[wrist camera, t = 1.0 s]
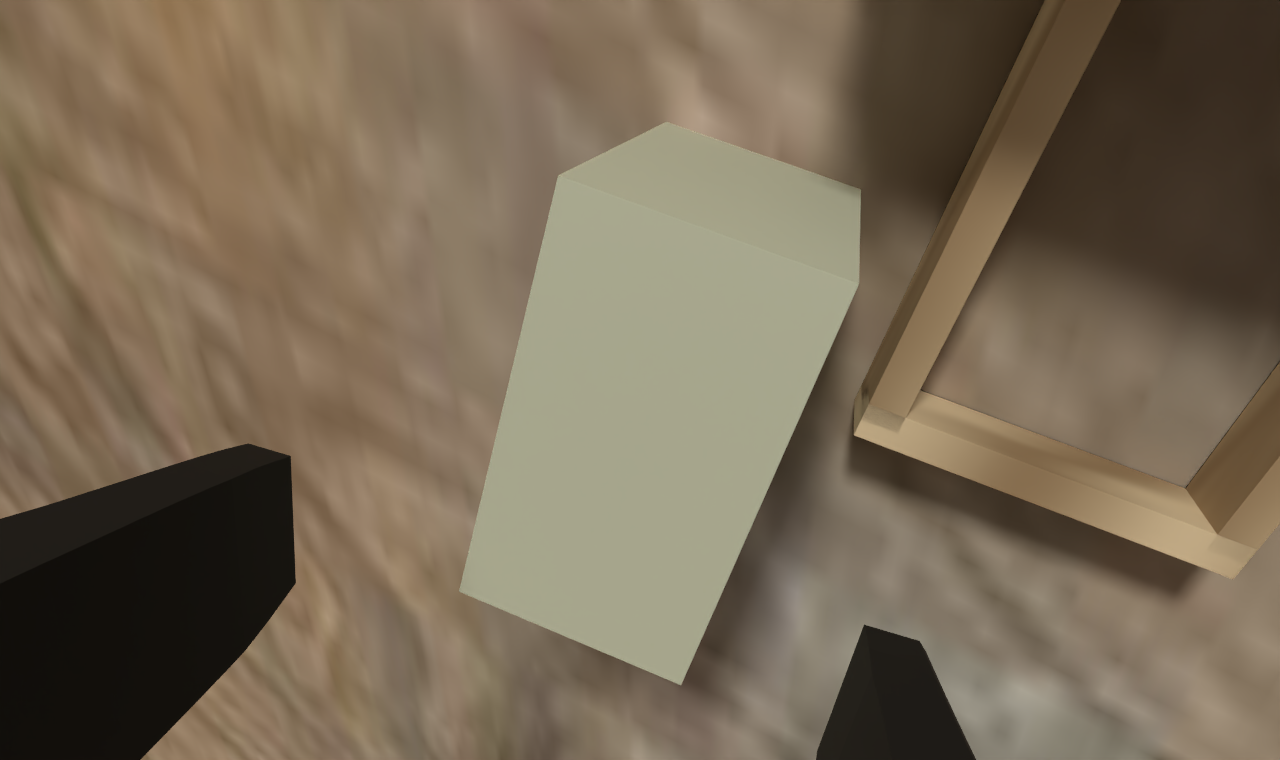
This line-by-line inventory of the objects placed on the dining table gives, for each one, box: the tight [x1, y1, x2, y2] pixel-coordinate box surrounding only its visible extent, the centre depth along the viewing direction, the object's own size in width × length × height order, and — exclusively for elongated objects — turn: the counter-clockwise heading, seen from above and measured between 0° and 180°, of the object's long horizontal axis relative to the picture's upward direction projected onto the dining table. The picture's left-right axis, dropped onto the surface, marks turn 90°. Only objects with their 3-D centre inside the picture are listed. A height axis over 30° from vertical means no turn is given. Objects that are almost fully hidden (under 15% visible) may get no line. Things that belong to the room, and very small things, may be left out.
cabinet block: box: [459, 122, 861, 685], centre depth 16 cm, size 4×8×7 cm, turn 163°
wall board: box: [854, 0, 1280, 579], centre depth 13 cm, size 16×12×6 cm
